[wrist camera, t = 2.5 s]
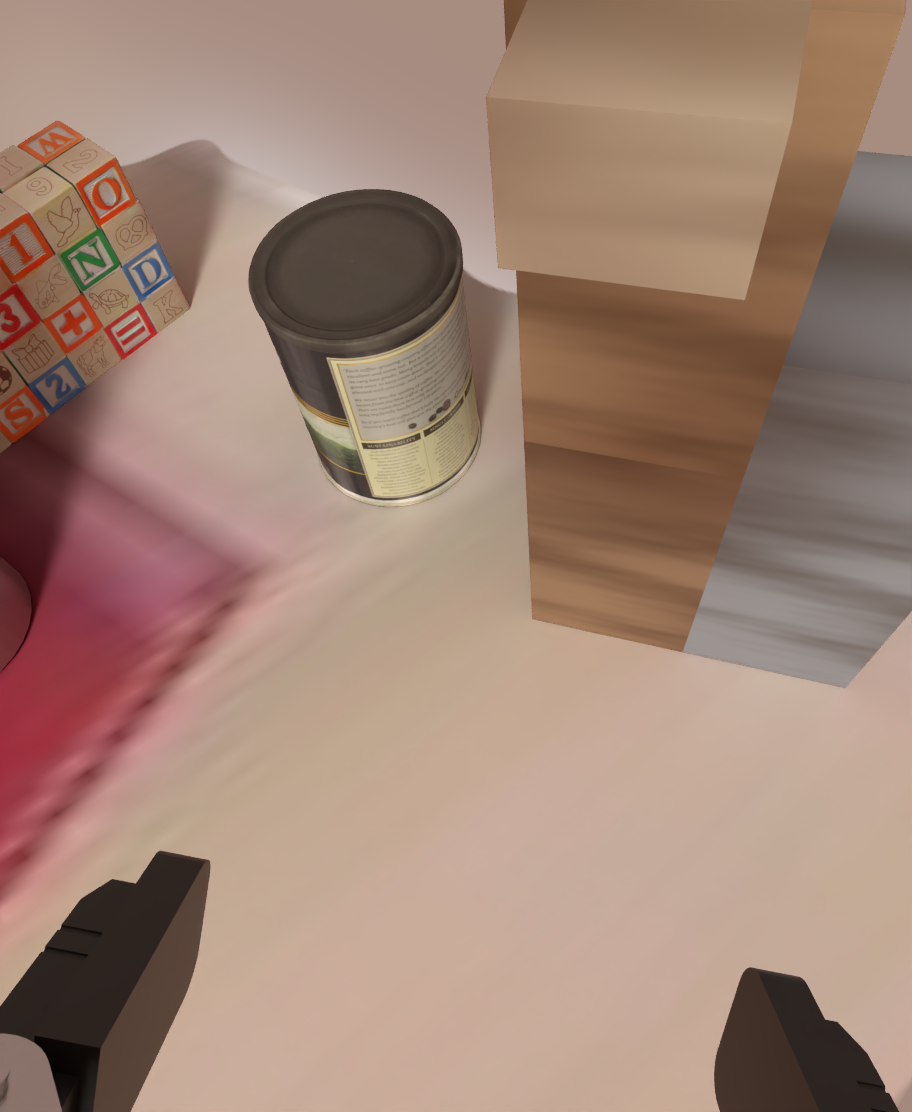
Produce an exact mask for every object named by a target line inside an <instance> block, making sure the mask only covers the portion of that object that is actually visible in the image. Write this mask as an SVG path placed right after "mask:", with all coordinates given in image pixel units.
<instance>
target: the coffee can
mask: <svg viewBox="0 0 912 1112" xmlns="http://www.w3.org/2000/svg"><path fill="white" fill-rule="evenodd" d="M462 271H463V258H462V247H461V242H460V238H459V236H458V233H457V231H456V229H455V228H454V226H453V225H452V223H451V222H450V221H449V219H448V218H447V217H446V216H445V215H444V214H443V213H442V212H440V210H438V209H437V208H435V207H434V206H433V205H431V204H429V203H428V202H426V201H424V200H422V199H420V198H418V197H415V196H412V195H409V194H406V193H402V192H396V191H391V190H379V189H369V190H367V189H365V190H354V191H346V192H341V193H337V194H333V195H329V196H326V197H323V198H321V199H318V200H316V201H313V202H311V203H309V204H307V205H305V206H303V207H301V208H299V209H297V210H296V211H294V212H292V213H291V214H289V215H288V216H286V217H285V218H284V219H282V220H281V221H280V222H279V223H277V224H276V225H275V226H274V227H273V228H272V229H271V230H270V231H269V232H268V234H267V235H266V236H265V237H264V238H263V240H262V241H261V243H260V244H259V246H258V248H257V250H256V252H255V254H254V256H253V258H252V262H251V265H250V269H249V291H250V294H251V297H252V300H253V303H254V305H255V307H256V310H257V311H258V313H259V315H260V317H261V318H262V320H263V321H264V323H265V325H266V328H267V330H268V333H269V335H270V338H271V340H272V342H273V345H274V347H275V350H276V352H277V355H278V357H279V360H280V362H281V365H282V367H283V369H284V372H285V374H286V376H287V379H288V381H289V384H290V386H291V389H292V391H293V394H294V396H295V399H296V401H297V404H298V406H299V409H300V411H301V413H302V416H303V418H304V421H305V423H306V426H307V429H308V431H309V433H310V435H311V438H312V440H313V443H314V445H315V448H316V450H317V453H318V457H319V461H320V464H321V467H322V469H323V471H324V473H325V475H326V476H327V478H328V479H329V480H330V481H331V482H332V483H333V485H334V486H335V487H337V488H338V489H339V490H340V491H342V492H343V493H344V494H346V495H348V496H349V497H351V498H353V499H355V500H358V501H360V502H363V503H367V504H371V505H375V506H382V507H397V506H406V505H412V504H415V503H420V502H423V501H425V500H428V499H431V498H433V497H435V496H437V495H439V494H441V493H443V492H445V491H446V490H447V489H449V488H450V487H451V486H452V485H453V484H455V483H456V482H457V481H458V480H460V479H461V477H462V476H463V475H464V474H465V473H466V472H467V470H468V469H469V467H470V466H471V464H472V462H473V461H474V459H475V456H476V454H477V451H478V448H479V446H480V436H481V426H480V420H479V416H478V413H477V405H476V396H475V387H474V378H473V369H472V359H471V351H470V342H469V334H468V325H467V316H466V307H465V299H464V290H463V282H462Z"/></svg>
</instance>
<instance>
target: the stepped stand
mask: <svg viewBox="0 0 912 1112" xmlns="http://www.w3.org/2000/svg"><path fill="white" fill-rule="evenodd" d="M526 2H527V0H504V13H505V35H506V49H507V47H508V45H509V42H510V40H511V37H512V35H513V33H514V30H515V28H516V26H517V23H518V21H519V19H520V16H521V14H522V12H523V9H524V7H525V5H526ZM905 9H906V0H812V5H811V11H810V17H809V23H808V29H807V35H806V41H805V47H804V53H803V59H802V65H801V71H800V77H799V84H798V90H797V96H796V102H795V108H794V114H793V120H792V125H791V129H790V132H789V136H788V140H787V144H786V147H785V151H784V155H783V159H782V163H781V166H780V170H779V174H778V178H777V181H776V185H775V189H774V193H773V196H772V200H771V204H770V208H769V211H768V215H767V219H766V223H765V226H764V230H763V234H762V238H761V242H760V245H759V249H758V253H757V257H756V260H755V264H754V268H753V272H752V275H751V279H750V283H749V287H748V290H747V294H746V298H745V300H740V299H732V298H724V297H717V296H709V295H702V294H694V293H686V292H679V291H671V290H663V289H656V288H648V287H640V286H633V285H625V284H617V283H610V282H602V281H594V280H587V279H579V278H571V277H564V276H556V275H548V274H541V273H533V272H525V271H518V270H516V274H517V297H518V318H519V340H520V362H521V384H522V405H523V427H524V449H525V471H526V492H527V514H528V536H529V557H530V579H531V601H532V619H535V620H540V621H544V622H549V623H553V624H558V625H562V626H567V627H571V628H576V629H580V630H585V631H589V632H594V633H599V634H603V635H608V636H612V637H617V638H621V639H626V640H630V641H635V642H639V643H644V644H648V645H653V646H657V647H662V648H667V649H671V650H676V651H680V652H685V653H689V654H694V655H698V656H703V657H707V658H712V659H716V660H721V661H725V662H730V663H735V664H739V665H744V666H748V667H753V668H757V669H762V670H766V671H771V672H775V673H780V674H784V675H789V676H793V677H798V678H803V679H807V680H812V681H816V682H821V683H825V684H830V685H834V686H839V687H843V688H846V687H847V685H848V684H849V683H850V682H851V681H852V680H853V678H854V677H855V676H856V675H857V674H858V673H859V672H860V670H861V669H862V668H863V667H864V666H865V665H866V663H867V662H868V661H869V660H870V659H871V658H872V656H873V655H874V654H875V653H876V652H877V651H878V649H879V648H880V647H881V646H882V645H883V644H884V643H885V641H886V640H887V639H888V638H889V637H890V636H891V634H892V633H893V632H894V631H895V630H896V629H897V627H898V626H899V625H900V624H901V623H902V622H903V620H904V619H905V618H906V617H907V616H908V615H909V614H910V612H911V611H912V156H904V155H892V154H882V153H870V152H860V151H858V148H859V145H860V143H861V140H862V137H863V134H864V131H865V128H866V125H867V122H868V120H869V117H870V114H871V110H872V108H873V105H874V102H875V100H876V97H877V94H878V91H879V88H880V85H881V82H882V79H883V76H884V74H885V71H886V68H887V65H888V62H889V59H890V56H891V54H892V51H893V48H894V45H895V42H896V39H897V36H898V33H899V31H900V28H901V25H902V22H903V19H904V16H905Z"/></svg>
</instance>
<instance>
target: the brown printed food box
mask: <svg viewBox="0 0 912 1112" xmlns="http://www.w3.org/2000/svg"><path fill="white" fill-rule="evenodd" d="M189 309H190V306H189V304H188V302H187V300H186V298H185V296H184V294H183V292H182V290H181V288H180V286H179V284H178V282H177V280H176V278H175V276H174V275H173V273H172V270H171V268H170V266H169V264H168V262H167V260H166V257H165V255H164V253H163V251H162V249H161V247H160V244H159V242H158V241H157V237H156V234H155V232H154V230H153V227H152V226H151V224H150V222H149V219H148V217H147V215H146V213H145V211H144V209H143V207H142V205H141V203H140V201H139V200H138V199H137V198H135V196H134V194H133V192H132V190H131V188H130V185H129V183H128V181H127V179H126V177H125V175H124V173H123V171H122V169H121V167H120V165H119V163H118V161H117V159H116V157H115V156H114V155H112V154H110V153H109V152H107V151H106V150H104V149H103V148H101V147H100V146H98V145H97V144H95V143H94V142H92V141H91V140H90V139H88V138H87V139H85V137H83V136H82V135H81V134H80V133H78V132H76V131H75V130H73V129H72V128H70V127H68V126H66V125H65V124H63V123H61V122H60V121H55V122H54V123H52V124H51V125H49V126H47V127H46V128H44V129H43V130H41V131H40V132H38V133H37V134H35V135H34V136H31V137H30V138H28V139H27V140H25V141H24V142H22V143H21V144H19V145H18V146H15V145H13V146H10V147H9V148H7V149H5V150H4V151H2V152H1V153H0V453H2V452H3V451H4V450H5V449H7V448H8V447H9V446H10V445H11V444H12V443H13V442H16V441H17V440H19V439H20V438H21V437H23V436H24V435H25V434H27V433H28V432H29V431H30V430H32V429H33V428H35V427H36V426H37V425H39V424H40V423H41V422H42V421H44V420H45V419H46V418H48V417H49V415H50V414H51V413H53V412H54V411H56V410H57V409H58V408H60V407H61V406H62V405H63V404H65V403H66V402H67V401H69V400H70V399H71V398H73V397H74V396H75V395H77V394H78V393H79V392H80V391H82V390H83V389H84V388H85V387H86V386H87V385H89V384H91V383H92V382H93V381H95V380H96V379H97V378H98V377H100V376H101V375H102V374H104V373H105V372H106V371H107V370H109V369H110V368H111V367H113V366H114V365H115V364H117V363H118V362H119V361H120V360H122V359H124V358H126V357H127V356H128V355H130V354H131V353H132V352H134V351H135V350H136V349H138V348H139V347H140V346H141V345H143V344H144V343H145V342H147V341H148V340H149V339H151V338H152V337H153V336H155V335H156V334H157V333H158V332H160V331H162V330H163V329H164V328H166V327H167V326H168V325H169V324H171V323H172V322H173V321H175V320H176V319H177V318H179V317H180V316H181V315H183V314H184V313H185V312H187V311H188V310H189Z"/></svg>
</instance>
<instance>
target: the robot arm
mask: <svg viewBox="0 0 912 1112" xmlns="http://www.w3.org/2000/svg"><path fill="white" fill-rule="evenodd" d="M31 612H32V606H31V595H30V592H29V589H28V586H27V583H26V582H25V580H24V579H23V577H22V576H21V575H20V573H19V572H18V571H17V570H15V569H14V568H13V567H12V566H11V565H10V564H8V563H7V562H6V561H5V560H4V559H3V558H2V557H0V671H2V669H3V668H4V667H5V666H6V665H7V664H8V662H9V661H10V660H11V659H12V658H13V657H14V655H15V653H16V652H17V650H18V649H19V647H20V645H21V644H22V642H23V640H24V637H25V635H26V632H27V630H28V627H29V624H30V618H31ZM209 876H210V861H209V860H205V859H200V858H195V857H190V856H185V855H180V854H175V853H170V852H164V851H159V852H158V853H156V855H155V856H154V858H153V859H152V861H151V862H150V864H149V865H148V867H147V868H146V869H145V871H144V872H143V874H142V875H141V877H140V878H139V880H138V881H137V883H136V884H135V883H129V882H124V881H119V880H114V879H112V880H110V881H109V882H107V883H105V884H104V885H102V886H101V887H99V888H97V889H96V890H94V891H93V892H91V893H90V894H88V895H86V896H85V897H83V898H82V899H81V900H80V901H79V902H78V904H77V905H76V906H75V908H74V909H73V910H72V912H71V913H70V914H69V916H68V917H67V918H66V920H65V921H64V922H63V924H62V926H61V929H60V930H57V932H56V933H55V934H54V936H53V937H52V938H51V940H50V941H49V942H48V944H47V945H46V947H45V950H44V952H41V953H40V954H39V956H38V957H37V958H36V960H35V961H34V962H33V964H32V965H31V966H30V968H29V969H28V970H27V972H26V973H25V974H24V976H23V977H22V978H21V980H20V981H19V982H18V984H17V985H16V986H15V988H14V989H13V990H12V992H11V993H10V994H9V996H8V997H7V998H6V1000H5V1001H4V1002H3V1003H2V1005H1V1006H0V1112H131V1109H132V1107H133V1105H134V1103H135V1101H136V1099H137V1097H138V1095H139V1092H140V1090H141V1088H142V1086H143V1084H144V1082H145V1080H146V1078H147V1076H148V1073H149V1071H150V1069H151V1067H152V1065H153V1063H154V1061H155V1059H156V1057H157V1054H158V1052H159V1050H160V1048H161V1046H162V1044H163V1042H164V1040H165V1038H166V1035H167V1033H168V1031H169V1029H170V1027H171V1025H172V1023H173V1021H174V1019H175V1016H176V1014H177V1012H178V1010H179V1008H180V1006H181V1004H182V1002H183V1000H184V997H185V995H186V993H187V990H188V987H189V984H190V981H191V978H192V975H193V972H194V968H195V964H196V960H197V956H198V951H199V944H200V938H201V931H202V924H203V917H204V910H205V903H206V897H207V890H208V883H209ZM714 1082H715V1093H716V1099H717V1103H718V1107H719V1110H720V1112H899V1111H898V1109H897V1107H896V1105H895V1103H894V1101H893V1100H892V1098H891V1096H890V1094H889V1093H886V1092H885V1085H884V1083H883V1081H882V1080H881V1078H880V1076H879V1074H878V1072H877V1070H876V1069H875V1067H874V1065H873V1063H872V1061H871V1060H870V1058H869V1056H868V1054H867V1053H866V1052H865V1051H864V1050H863V1049H862V1047H861V1046H860V1045H859V1044H858V1043H857V1042H856V1041H855V1040H854V1039H853V1038H852V1037H851V1036H850V1035H849V1034H848V1033H847V1032H846V1031H845V1030H844V1029H843V1027H842V1026H841V1025H840V1024H839V1023H838V1022H834V1021H829V1020H825V1018H824V1017H823V1015H822V1013H821V1011H820V1009H819V1007H818V1005H817V1003H816V1001H815V999H814V997H813V995H812V993H811V991H810V989H809V987H808V985H807V984H806V982H805V981H804V980H803V979H802V978H800V977H797V976H792V975H787V974H781V973H776V972H771V971H766V970H761V969H756V968H751V967H750V968H747V969H746V970H745V971H744V973H743V974H742V976H741V979H740V982H739V985H738V988H737V991H736V994H735V997H734V1000H733V1004H732V1007H731V1010H730V1013H729V1016H728V1019H727V1023H726V1026H725V1029H724V1032H723V1035H722V1038H721V1041H720V1045H719V1048H718V1051H717V1055H716V1060H715V1071H714Z"/></svg>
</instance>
